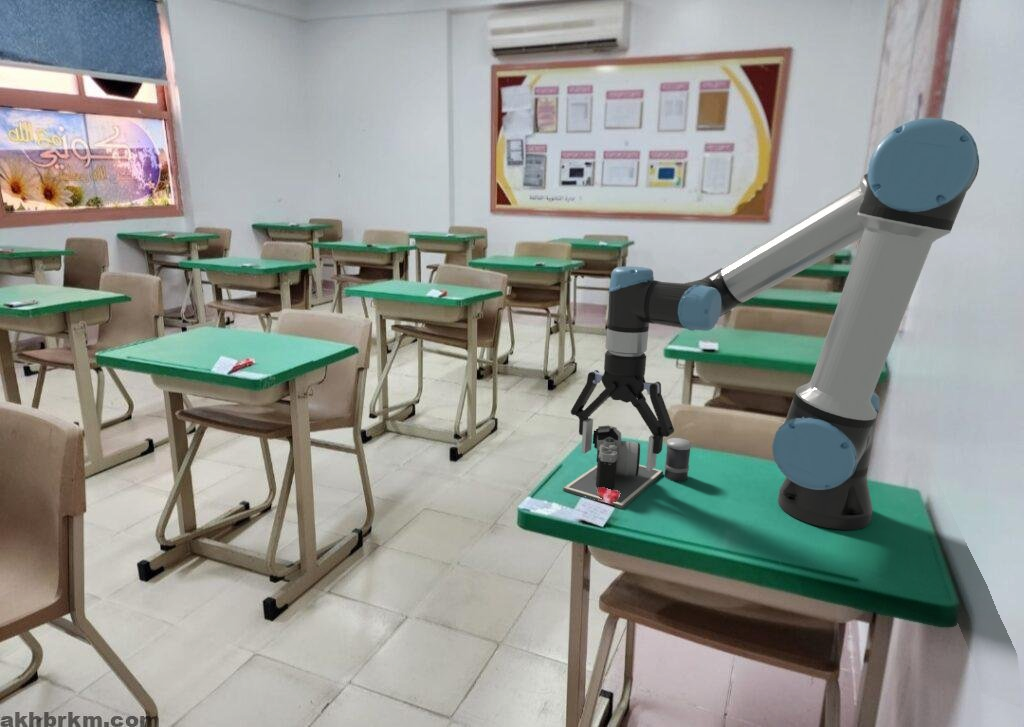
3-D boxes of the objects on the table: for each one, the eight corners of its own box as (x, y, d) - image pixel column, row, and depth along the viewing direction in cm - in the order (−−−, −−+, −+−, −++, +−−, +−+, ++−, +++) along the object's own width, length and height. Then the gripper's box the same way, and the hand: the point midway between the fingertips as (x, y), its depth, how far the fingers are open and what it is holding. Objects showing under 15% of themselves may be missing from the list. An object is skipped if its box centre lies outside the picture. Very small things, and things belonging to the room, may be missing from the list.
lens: (691, 476, 129) (695, 441, 127) (683, 483, 125) (686, 448, 124) (668, 470, 132) (672, 436, 130) (660, 477, 128) (663, 442, 126)
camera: (637, 498, 117) (642, 446, 115) (588, 492, 119) (591, 441, 116) (636, 464, 132) (640, 418, 130) (592, 460, 134) (595, 414, 131)
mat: (662, 474, 130) (663, 471, 129) (622, 509, 114) (622, 505, 114) (608, 459, 136) (608, 456, 136) (563, 490, 121) (563, 487, 121)
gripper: (699, 358, 116) (687, 469, 121) (576, 338, 129) (570, 439, 134) (684, 366, 110) (672, 483, 115) (557, 345, 123) (551, 450, 128)
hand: (617, 459), depth 124 cm, fingers open, 13 cm apart
